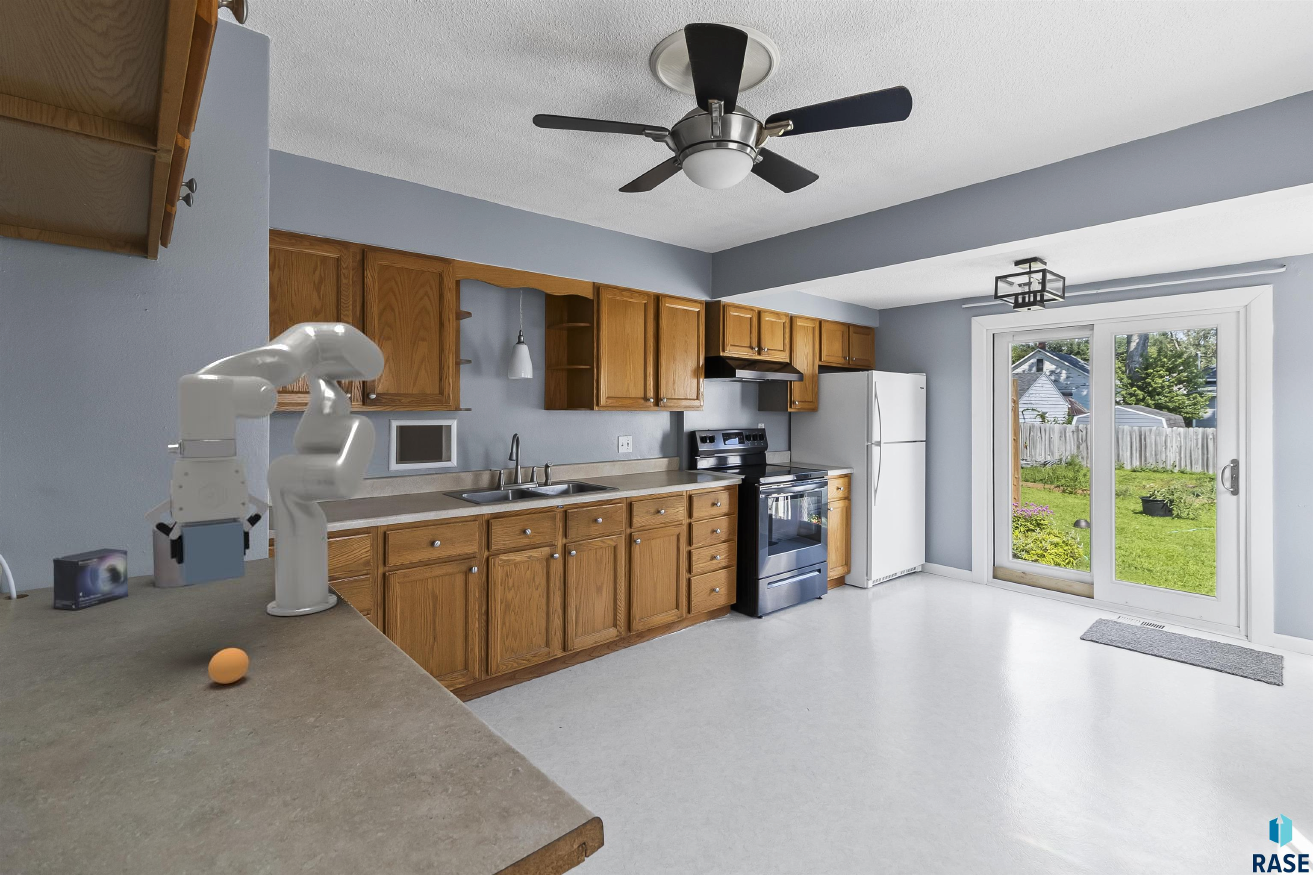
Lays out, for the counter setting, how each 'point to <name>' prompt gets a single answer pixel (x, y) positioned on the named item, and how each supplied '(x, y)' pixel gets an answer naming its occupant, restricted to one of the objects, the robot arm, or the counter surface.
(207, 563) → the slate blue square block
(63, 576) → the small box
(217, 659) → the ball
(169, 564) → the pillar candle
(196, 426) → the robot arm
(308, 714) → the counter surface
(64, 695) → the counter surface
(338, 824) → the counter surface
